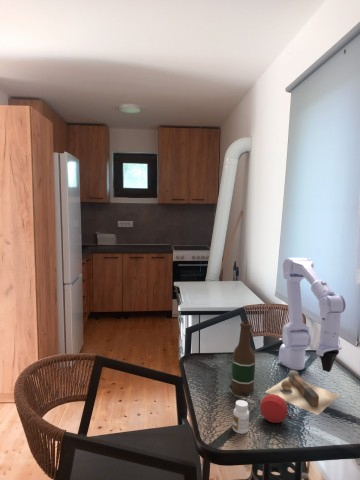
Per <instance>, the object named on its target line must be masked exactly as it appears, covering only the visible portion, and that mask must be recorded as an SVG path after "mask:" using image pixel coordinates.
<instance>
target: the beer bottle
mask: <svg viewBox="0 0 360 480" xmlns="http://www.w3.org/2000/svg"><path fill="white" fill-rule="evenodd" d="M239 326H240V331H239V332H240V333H239V340H238V344H237V346H236V347H235V348H234V350H233V353H232V362H231V364H232V365H231V379H230V381H231V382H230V384H231V393H232V394H233V395H236V396H238V397H249V396H250V395H248V394H246V393H250V392H252V391H254V389H255V388H254V386H255V371H256V370H255V368H256V355H255V353H254V350H253V348H252V345H251V328H252V325H251V322H249V321H241V322H240V324H239Z"/></svg>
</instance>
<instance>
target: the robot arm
mask: <svg viewBox="0 0 360 480" xmlns="http://www.w3.org/2000/svg"><path fill="white" fill-rule="evenodd" d="M282 270H283V279H285V280H286V294H287V304H288V305H287V308H288V310H287V311H288V322H287V323H286V324H285V325H284V326H283V327H282V334H281V341H282V344H281V345H280V347H279V351H278V362H277V363H278V364H279V365H283V366H285V367H287V368H289V369H290V370H295V371H299V370H303V369H305V365H306V364H305V361H306V351H307V350H308V347H310V346H311V344H312V335H311V333H310V327H309V326H308V325H307V324H305V322H304V319H303V307H302V292H301V281H302V280H304V279H305V280H306V281H307V282H308V283H309V284H310V285H311V287H310V290H311V292H312V293H313V295H314V296H315V298H316V300H317V301H318V307H319V316H320V317H321V318H320V319H321V321H320V332H319V333H320V334H319V342H318V346H317V348H316V352H315V354H316V356H319V358H320V360H321V367H322V370H323V371H324V372H327V373H330V372H331V371H332V368H333V366H334V362H335V360H336V358H337V356H338V355H339V353H340V351H341V350H342V349H343V347H342V346H340V345H341V339H339V338H340V330H341V329H340V328H341V319H342V316H341V315H342V313H344V312H345V311H346V300H345V298H344V296H343V295H341V294H338V293H335V291H334V290H333V289H332V288H331V287H330V285H329V284H328V283H327V281H326V280H324V279H323V280H322V279H320V278H319V275H318V274H317V272H316V271H315V269H314V262H313V261H312V258H310V257H289V256H288V257H286V258H285V259H284V261H283V263H282Z"/></svg>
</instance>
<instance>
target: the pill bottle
mask: <svg viewBox="0 0 360 480" xmlns="http://www.w3.org/2000/svg"><path fill="white" fill-rule="evenodd" d="M232 412H233V414H232V415H233V416H232V430H233V431H234V432H235V433H237V434H241V435H242V434H246V433H248V431H249V427H250V426H249V425H250V424H249V423H250V411H249V403H248V402H247V401H245V400H244V399H238V400H236V401H235V407H234V409H233V411H232Z"/></svg>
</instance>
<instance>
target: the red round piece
mask: <svg viewBox="0 0 360 480" xmlns="http://www.w3.org/2000/svg"><path fill="white" fill-rule="evenodd" d="M259 406H260V407H259V409H260V413H261V415H262V416H263V417H264V418H263V419H266V420H267V421H268V422H270V423H274V424H275V423H276V424H278V423H282V422H283V421H284V420H285V419H286V418H287V415H288V412H289V410H288V407H287V402H286V401H284V399H283V398H281V397H280V396H278V395H274V394H268V393H267V394H266V396H264V397H263V398H262V399H261V401H260V405H259Z"/></svg>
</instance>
